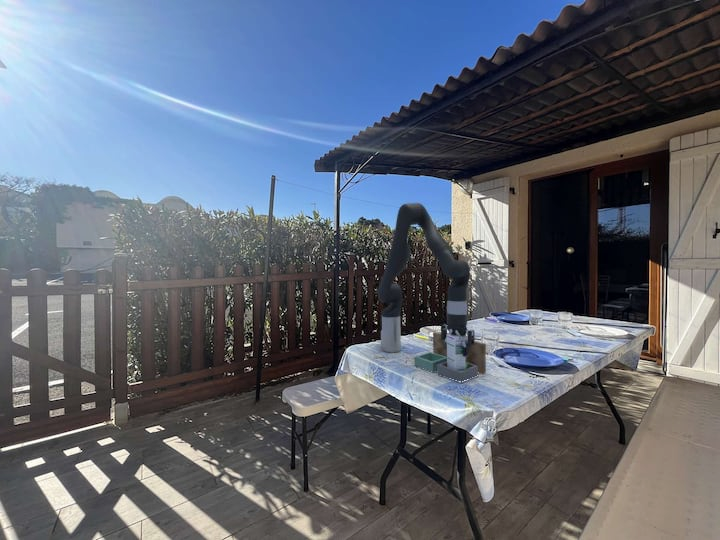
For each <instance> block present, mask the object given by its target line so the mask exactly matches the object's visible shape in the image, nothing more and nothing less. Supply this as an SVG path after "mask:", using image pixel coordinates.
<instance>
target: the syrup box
mask: <svg viewBox="0 0 720 540" xmlns="http://www.w3.org/2000/svg"><path fill="white" fill-rule="evenodd" d="M447 334H448V333H447ZM466 337H467V338H468V335H466V336H465V335H464V336H463V337H462V338H463V339H464V338H466ZM463 347H464V346H463V344H462V342H461V341H460V340H459V337H458V336H457V335H453V334H448V335H447V367H449V368H452V369H455V370H458V371H462V370H465V369H467V368H468V361H467V356H466V357H464V356H463Z"/></svg>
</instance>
